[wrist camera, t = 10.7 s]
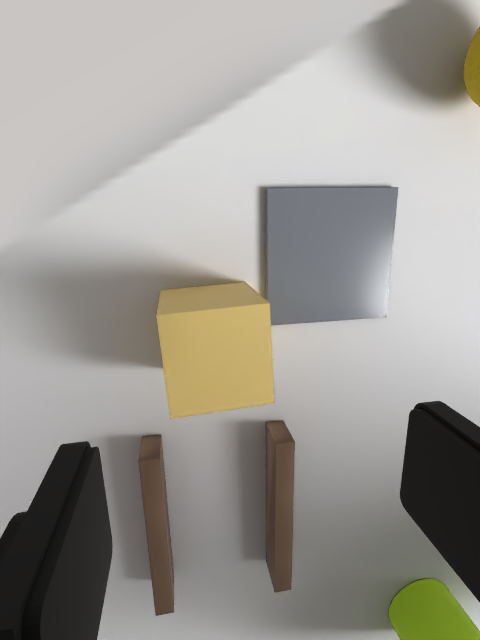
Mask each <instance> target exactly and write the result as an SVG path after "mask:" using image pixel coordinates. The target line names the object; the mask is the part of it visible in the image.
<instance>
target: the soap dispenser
mask: <svg viewBox="0 0 480 640" xmlns="http://www.w3.org/2000/svg"><path fill="white" fill-rule="evenodd" d="M389 619H390V622H391V623H392V625H393V627H394V629H395V631H396V633H397V635H398V636H399V638H400V640H480V631H479V630H478V628H477V627H476V626H475V624H474V623H473V622H472V620H471V619H470V618H469V616H468V615H467V614H466V612H465V611H464V610H463V608H462V607H461V606H460V604H459V603H458V602H457V600H456V599H455V598H454V596H453V595H452V593H451V592H450V591H449V589H448V588H447V587H446V586H445V584H444V583H442V582H441V581H439V580H436V579H422V580H418V581H415V582H413V583H411V584H409V585H407V586H406V587H404V588H403V589H402V590H401V591H400V592H399V593H398V594H397V595H396V596H395V597H394V599H393V600H392V602H391V604H390V607H389Z"/></svg>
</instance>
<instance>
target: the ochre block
mask: <svg viewBox="0 0 480 640" xmlns="http://www.w3.org/2000/svg"><path fill="white" fill-rule="evenodd" d="M156 317H157V325H158V332H159V340H160V347H161V354H162V362H163V369H164V376H165V384H166V391H167V398H168V406H169V413H170V419H172V418H179V417H186V416H192V415H199V414H206V413H212V412H219V411H225V410H232V409H239V408H245V407H252V406H259V405H265V404H272V403H274V386H273V364H272V342H271V320H270V303H269V302H268V301H267V300H266V299H264V298H263V297H262V296H261V295H260V294H259V293H257V292H256V291H255V290H254V289H253V288H252V287H250V286H249V285H248V284H247V283H246V282H237V283H227V284H217V285H207V286H196V287H186V288H176V289H166V290H161V292H160V297H159V303H158V308H157V314H156Z"/></svg>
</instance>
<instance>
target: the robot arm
mask: <svg viewBox="0 0 480 640" xmlns="http://www.w3.org/2000/svg"><path fill="white" fill-rule="evenodd" d="M400 499H401V502H402V505H403V507H404V508H405V510H406V511H407V512H408V514H409V515H410V516H411V517H412V519H413V520H414V521H415V522H416V524H417V525H418V526H419V527H420V529H421V530H422V531H423V532H424V534H425V535H426V536H427V537H428V539H429V540H430V541H431V542H432V544H433V545H434V546H435V547H436V549H437V550H438V551H439V552H440V554H441V555H442V556H443V557H444V559H445V560H446V561H447V562H448V563H449V565H450V566H451V567H452V568H453V570H454V571H455V572H456V573H457V575H458V576H459V577H460V578H461V580H462V581H463V582H464V583H465V585H466V586H467V587H468V588H469V590H470V591H471V592H472V593H473V595H474V596H475V597H476V598H477V600H478V601H479V602H480V427H479V426H477V425H476V424H474V423H473V422H471V421H470V420H468V419H467V418H465V417H464V416H462V415H461V414H459V413H458V412H456V411H455V410H453V409H452V408H450V407H449V406H447V405H446V404H444V403H443V402H441V401H434V402H425V403H418V404H416V406H415V407H414V409H413V410H411V412H410V414H409V421H408V430H407V438H406V447H405V455H404V464H403V472H402V481H401V489H400ZM111 558H112V535H111V528H110V521H109V514H108V508H107V501H106V494H105V487H104V480H103V473H102V466H101V459H100V452H99V448H98V447H91V446H90V444H89V442H88V441H86V442H77V443H69V444H62V445H61V446H60V447H59V449H58V451H57V453H56V455H55V457H54V459H53V461H52V463H51V465H50V467H49V469H48V471H47V473H46V475H45V477H44V479H43V481H42V483H41V485H40V487H39V489H38V491H37V493H36V495H35V497H34V499H33V501H32V503H31V505H30V507H29V509H28V511H27V512H21V513H17V514H16V515H14V516H13V518H12V519H11V520H10V522H9V524H8V525H7V527H6V529H5V531H4V533H3V535H2V537H1V538H0V640H97V636H98V630H99V625H100V619H101V614H102V608H103V603H104V597H105V592H106V586H107V581H108V575H109V570H110V564H111Z"/></svg>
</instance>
